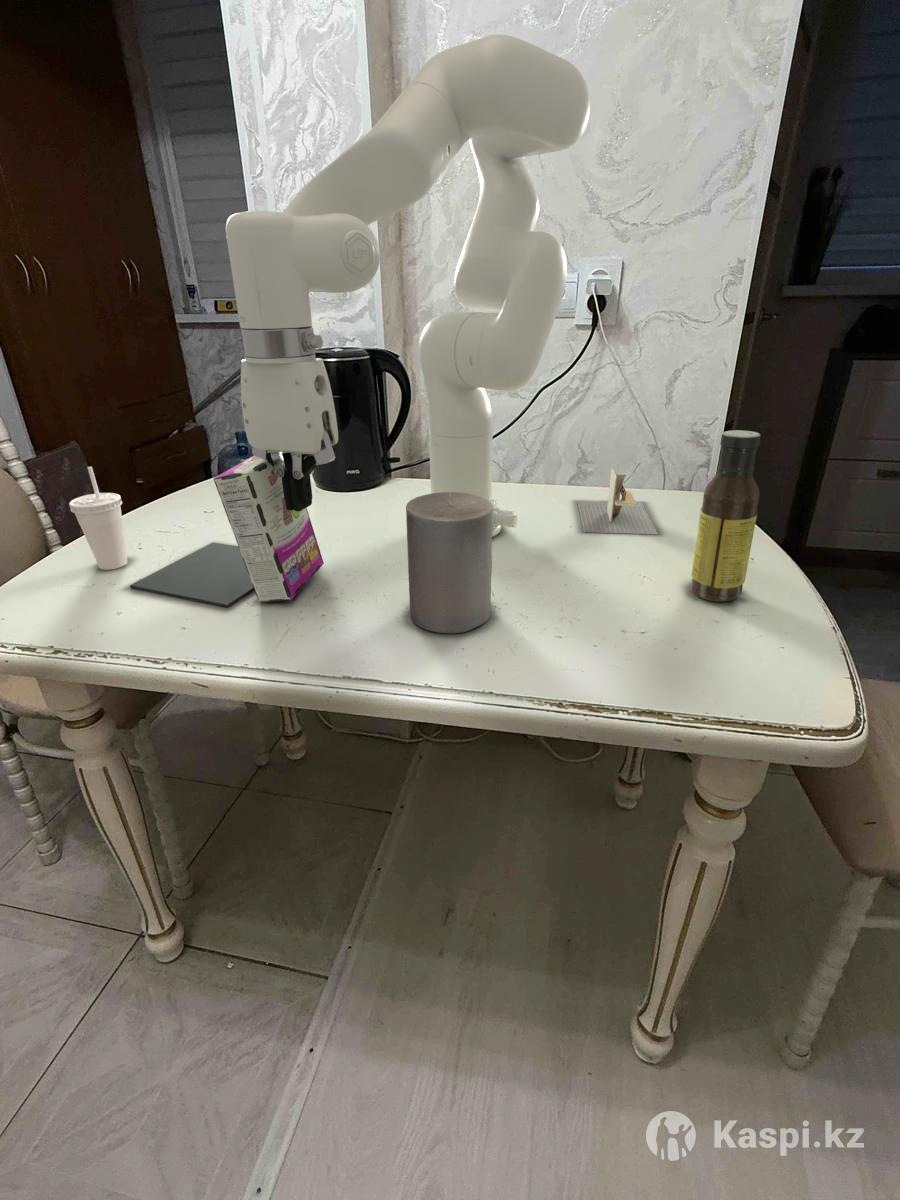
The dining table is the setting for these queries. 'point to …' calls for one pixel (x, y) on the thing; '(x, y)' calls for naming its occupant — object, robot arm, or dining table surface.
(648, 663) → the dining table surface
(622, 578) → the dining table surface
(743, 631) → the dining table surface
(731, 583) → the sauce bottle
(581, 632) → the dining table surface
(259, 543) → the candy bar box
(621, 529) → the architectural model
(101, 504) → the smoothie
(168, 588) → the mat
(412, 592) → the pillar candle
